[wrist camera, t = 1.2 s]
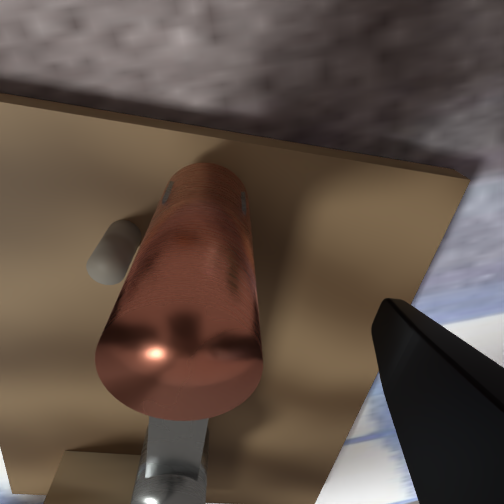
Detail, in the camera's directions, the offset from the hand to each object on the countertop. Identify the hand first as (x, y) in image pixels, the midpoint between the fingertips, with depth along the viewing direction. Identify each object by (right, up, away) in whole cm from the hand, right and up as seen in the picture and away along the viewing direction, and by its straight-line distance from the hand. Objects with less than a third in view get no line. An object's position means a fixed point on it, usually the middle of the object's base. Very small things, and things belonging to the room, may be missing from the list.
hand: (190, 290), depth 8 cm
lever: (-2, -5, +9) cm, 10 cm away
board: (-2, -4, +10) cm, 11 cm away
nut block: (-7, -12, +13) cm, 19 cm away
